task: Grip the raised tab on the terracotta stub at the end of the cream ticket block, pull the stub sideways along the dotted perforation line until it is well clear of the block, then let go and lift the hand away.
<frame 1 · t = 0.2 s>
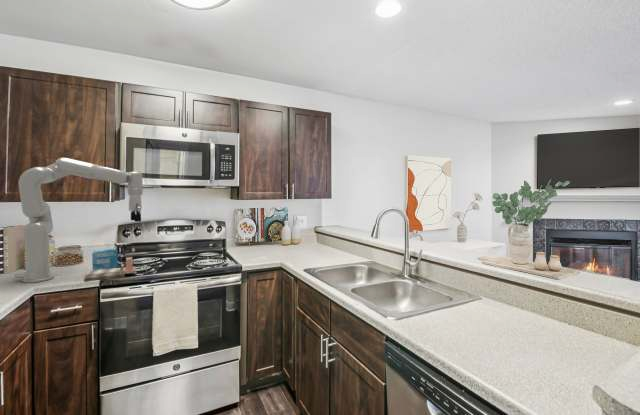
hand: (135, 220, 187), 30 cm above the counter, tool pointing down, fingers open, 9 cm apart
ticket pad: (105, 277, 173), on the counter
stub: (129, 264, 178), point 6 cm above the counter, slide at 0.0 cm
data package: (105, 270, 188), on the counter
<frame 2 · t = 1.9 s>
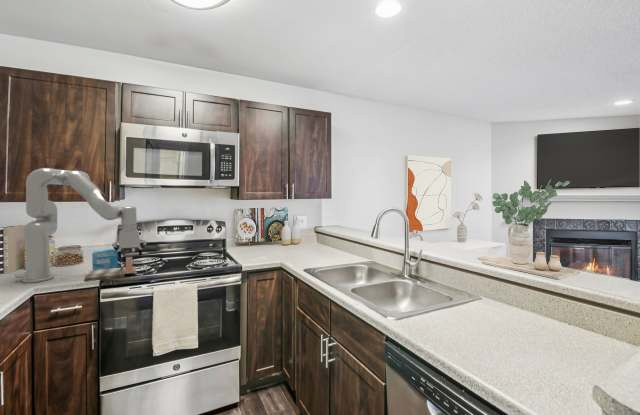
hand: (130, 257, 178), 10 cm above the counter, tool pointing down, fingers open, 9 cm apart
nothing on the counter moved.
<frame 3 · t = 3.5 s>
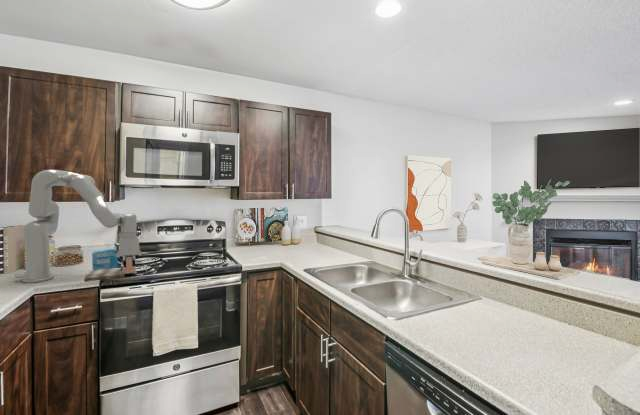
hand: (129, 266, 178), 5 cm above the counter, tool pointing down, fingers closed on stub, 3 cm apart
stub: (129, 264, 178), point 6 cm above the counter, slide at 0.0 cm, touching gripper
everything else where it was.
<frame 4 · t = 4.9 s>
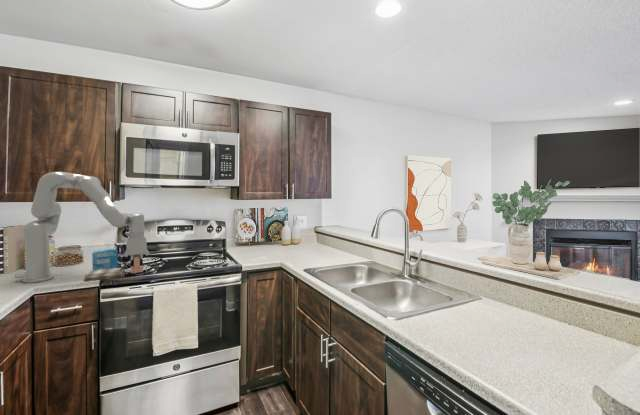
hand: (136, 265, 180), 5 cm above the counter, tool pointing down, fingers closed on stub, 3 cm apart
stub: (136, 264, 180), point 6 cm above the counter, slide at 3.8 cm, touching gripper
everything else where it was.
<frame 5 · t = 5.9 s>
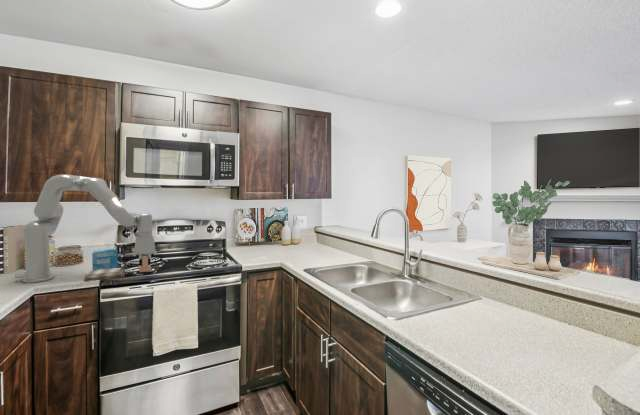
hand: (144, 265, 183), 5 cm above the counter, tool pointing down, fingers closed on stub, 3 cm apart
stub: (144, 263, 182), point 6 cm above the counter, slide at 7.9 cm, touching gripper
everything else where it was.
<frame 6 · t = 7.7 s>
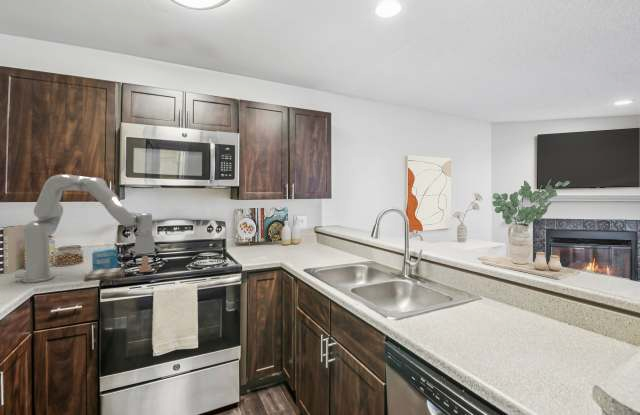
hand: (144, 262, 182), 6 cm above the counter, tool pointing down, fingers open, 9 cm apart
stub: (145, 263, 183), point 6 cm above the counter, slide at 8.0 cm
everything else where it was.
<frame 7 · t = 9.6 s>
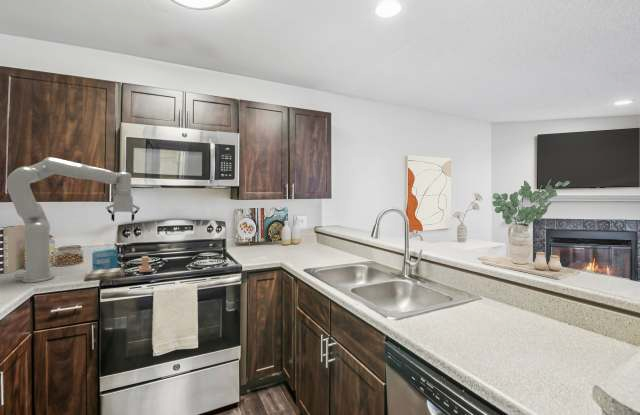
hand: (122, 221, 188), 30 cm above the counter, tool pointing down, fingers open, 9 cm apart
nothing on the counter moved.
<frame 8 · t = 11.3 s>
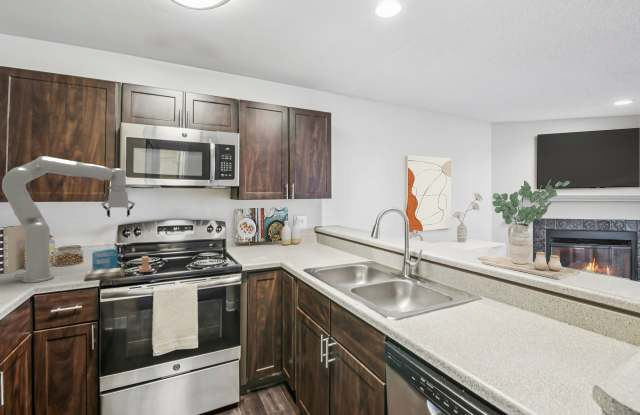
hand: (118, 216, 190), 32 cm above the counter, tool pointing down, fingers open, 9 cm apart
nothing on the counter moved.
at the end: stub slide at 8.0 cm; the gripper is holding nothing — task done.
